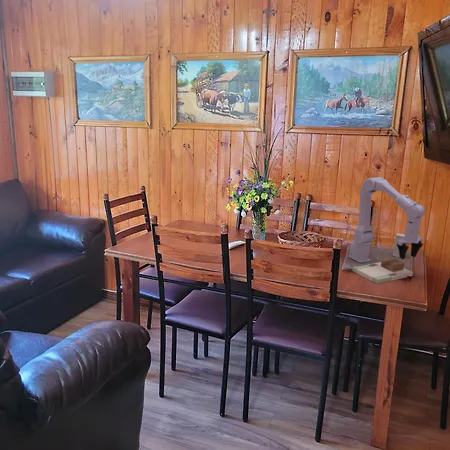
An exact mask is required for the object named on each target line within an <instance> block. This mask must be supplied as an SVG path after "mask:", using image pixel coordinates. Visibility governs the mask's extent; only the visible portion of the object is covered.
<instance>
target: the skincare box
mask: <svg viewBox="0 0 450 450" xmlns="http://www.w3.org/2000/svg"><path fill="white" fill-rule="evenodd" d="M404 237H405V233H396V235H395V240H394V245H393V250H392V257H394V258H395V257H396V258H400V256H399V250H398V247H397V243H398V240H401V239H403V238H404ZM406 246H408V245H407V244H406Z"/></svg>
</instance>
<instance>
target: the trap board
mask: <svg viewBox="0 0 450 450" xmlns="http://www.w3.org/2000/svg"><path fill="white" fill-rule="evenodd" d="M352 272H354V273H355V274H357V275H359V276H361V277H363V278H365V279H367V280H369V281H371V282H373V283H375V284H376V285H378V284H383V283H386V282H387V283H388V282H392V281H396V280H401V279H405V278H406V279H407V278H408V277H407V276H408V275H411V277H413V274H414V272H413V271H411V270H409V269H407V268H405V267H404V269H403V270H399V271H394V272H392V271H390V270H388V269H385V268H383V267H381V261H379V262H374V263H368V264H364V265H357V266H354V267H352Z"/></svg>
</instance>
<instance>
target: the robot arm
mask: <svg viewBox="0 0 450 450" xmlns="http://www.w3.org/2000/svg"><path fill="white" fill-rule="evenodd" d="M376 192H384V193H385V194H387V195H388V196H389V197H390V198H392V199H393V200H395V204H396V205H397V206H398V207H400V208H401V209H402V210H403V211H404V212H405V213H406V216H407V220H406V227H405V232H404V235H405V237H404V238H403V239H401V240H398V243H397V247H398V250H399V256H400V257H399V259H401V260H404V259H405V258H406V254H407V252H408V250H409V246H408V245H407V246H406V244H409V245H410V248H411V250H410V256H411V257H413V258H416V256H417V255H418V252H419V250H420V249H421V248H422V247H424V246H423V245H424V243H423V241H424V237H421V236H419V234H420V228H421V223H422V217H423V216H424V215H425V214H426V209H425V207H424V206H423V205H422V204H418V203H417V202H416V201H414V200H413V199H411V198H410V196H409V195H407V194H401V193H400V192H399V191H397V189H395V188H394V187H393V186H392V184H390V183H389V182H388V180H387V179H385V178H384V177H383V176H378V177H377V176H376V177H368V178H366V179H365V180H363V182H362V187H361V188H360V191H359V209H358V211H359V215H358V226H357V227H356V228H355V229H354V230H355V231H354V234H353V237H352V238H353V241H352V242H351V244H350V247H349V254H348V256H347V258H350V259H352V260H354V261H356V262H358V263H359V264H360V263H367V262H371V261H372V259H371V258H369V255H370V254H369V253H370V249H371V248H370V247H371V244H372V241H374V239H375V234H374V232H373V231H374V227H372V226H371V215H372V214H371V211H372V195H373V194H375V193H376Z"/></svg>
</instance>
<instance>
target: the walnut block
mask: <svg viewBox="0 0 450 450" xmlns="http://www.w3.org/2000/svg"><path fill="white" fill-rule="evenodd" d="M380 262H381V267H383V268H385V269H388V270H390V271H392V272H394V271H399V270H403V269H404V268H405V262H404V261H401V260H400V259H399V260H398V259H397V258H395V257H390V258H384V259H381V261H380Z"/></svg>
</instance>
